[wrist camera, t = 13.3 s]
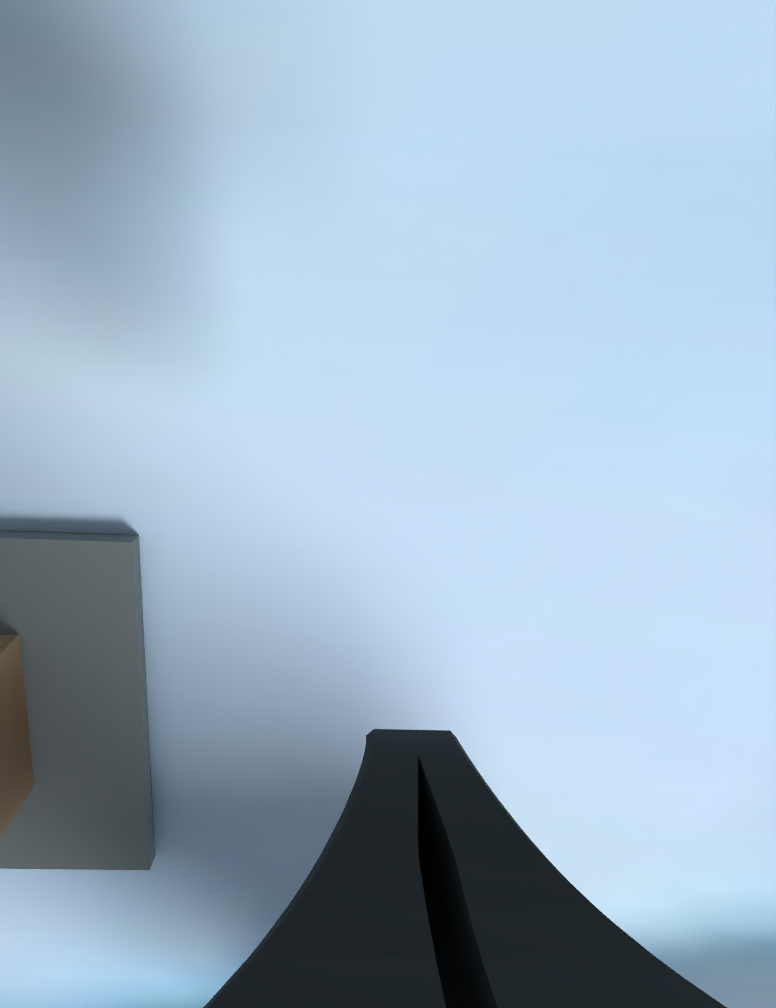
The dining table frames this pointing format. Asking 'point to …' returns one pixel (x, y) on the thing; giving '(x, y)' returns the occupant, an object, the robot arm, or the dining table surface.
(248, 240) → the dining table surface
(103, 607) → the mat
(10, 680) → the slab
